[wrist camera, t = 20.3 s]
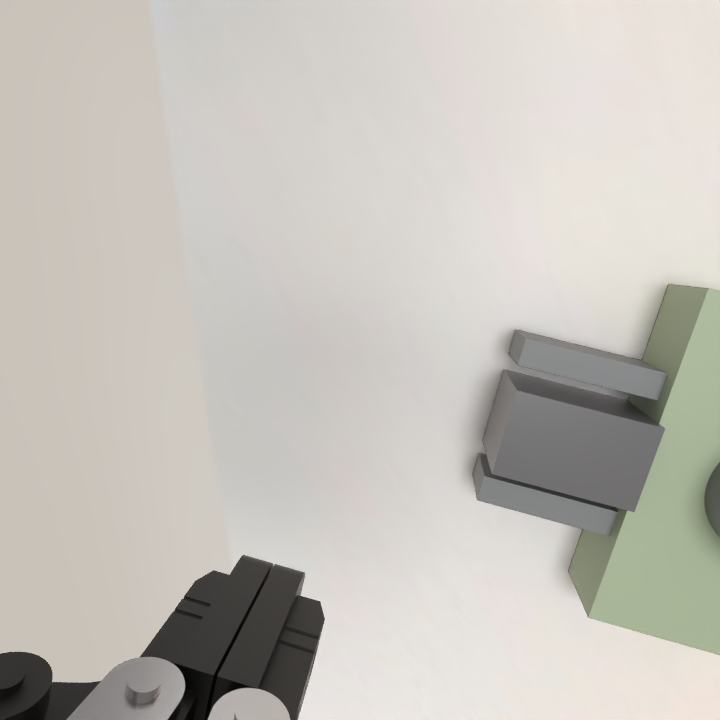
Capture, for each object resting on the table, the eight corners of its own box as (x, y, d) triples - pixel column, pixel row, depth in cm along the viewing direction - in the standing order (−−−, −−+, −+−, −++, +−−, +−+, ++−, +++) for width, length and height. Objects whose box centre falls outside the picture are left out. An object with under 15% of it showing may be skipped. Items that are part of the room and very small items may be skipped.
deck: (453, 538, 39) (459, 622, 30) (538, 253, 34) (574, 252, 26) (747, 621, 37) (845, 734, 28) (873, 332, 33) (1034, 359, 24)
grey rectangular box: (482, 439, 37) (491, 473, 31) (503, 368, 36) (517, 390, 30) (601, 471, 37) (634, 512, 31) (626, 400, 36) (665, 428, 30)
